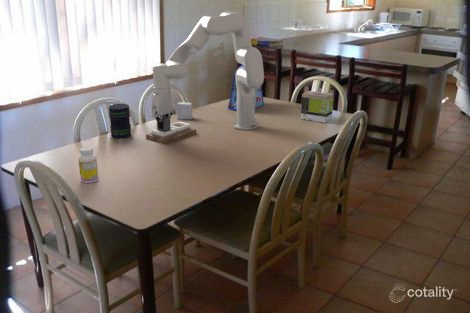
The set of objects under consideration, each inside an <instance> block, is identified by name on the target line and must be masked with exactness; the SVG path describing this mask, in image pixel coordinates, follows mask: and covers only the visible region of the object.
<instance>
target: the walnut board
mask: <svg viewBox="0 0 470 313" xmlns="http://www.w3.org/2000/svg"><path fill="white" fill-rule="evenodd" d="M196 134H197V129H196V128H192V127H190V129H189V130H186V131H183V132H180V133H177V134H175V135H172V136H169V137H166V138H160V137H156V136H153V135H152V132H149V133H147V134H145V139H146V140H147V139H148V140H150V141H155V142H158V143H161V144H165V145H168V144H172V143H174V142H177V141H179V140H182V139H185V138H188V137H191V136H192V135H196Z"/></svg>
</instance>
